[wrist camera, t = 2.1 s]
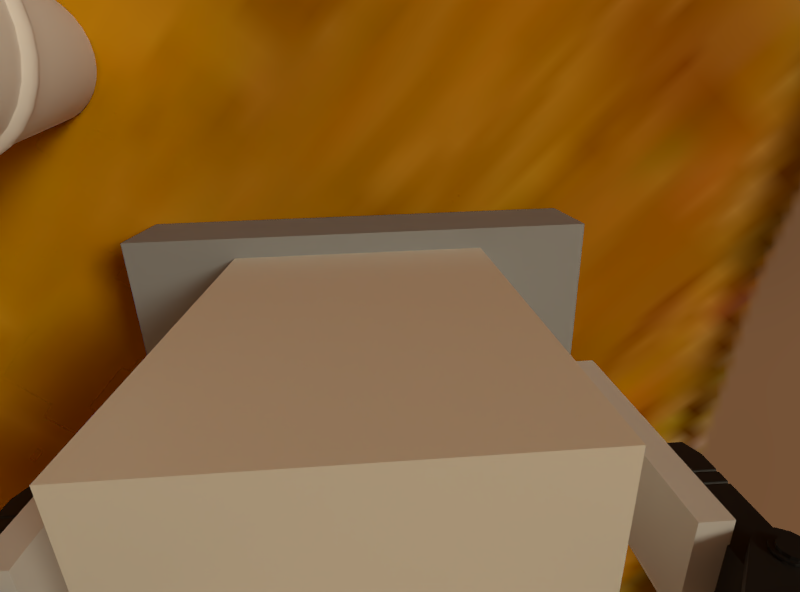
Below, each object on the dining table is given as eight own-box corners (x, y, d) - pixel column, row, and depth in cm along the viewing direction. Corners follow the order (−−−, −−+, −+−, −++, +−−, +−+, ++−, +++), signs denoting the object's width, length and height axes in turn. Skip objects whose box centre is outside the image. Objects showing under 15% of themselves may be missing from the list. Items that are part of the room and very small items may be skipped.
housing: (265, 460, 20) (158, 831, 10) (234, 258, 17) (29, 485, 7) (474, 447, 20) (583, 788, 10) (480, 247, 17) (645, 444, 7)
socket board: (232, 589, 26) (216, 646, 24) (156, 224, 19) (120, 243, 16) (524, 567, 27) (542, 619, 24) (553, 208, 20) (584, 223, 17)
